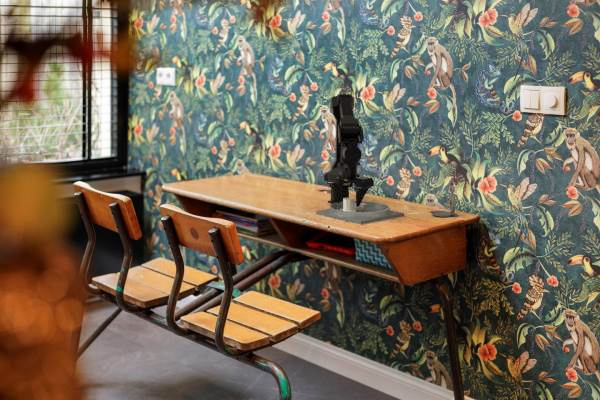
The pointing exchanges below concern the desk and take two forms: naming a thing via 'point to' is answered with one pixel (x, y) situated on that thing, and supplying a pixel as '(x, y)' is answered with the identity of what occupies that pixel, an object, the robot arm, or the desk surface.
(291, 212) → the desk surface
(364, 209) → the sun gear
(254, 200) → the desk surface
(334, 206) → the grey flat ring
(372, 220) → the tray
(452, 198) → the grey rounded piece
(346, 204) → the gear
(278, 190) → the desk surface
